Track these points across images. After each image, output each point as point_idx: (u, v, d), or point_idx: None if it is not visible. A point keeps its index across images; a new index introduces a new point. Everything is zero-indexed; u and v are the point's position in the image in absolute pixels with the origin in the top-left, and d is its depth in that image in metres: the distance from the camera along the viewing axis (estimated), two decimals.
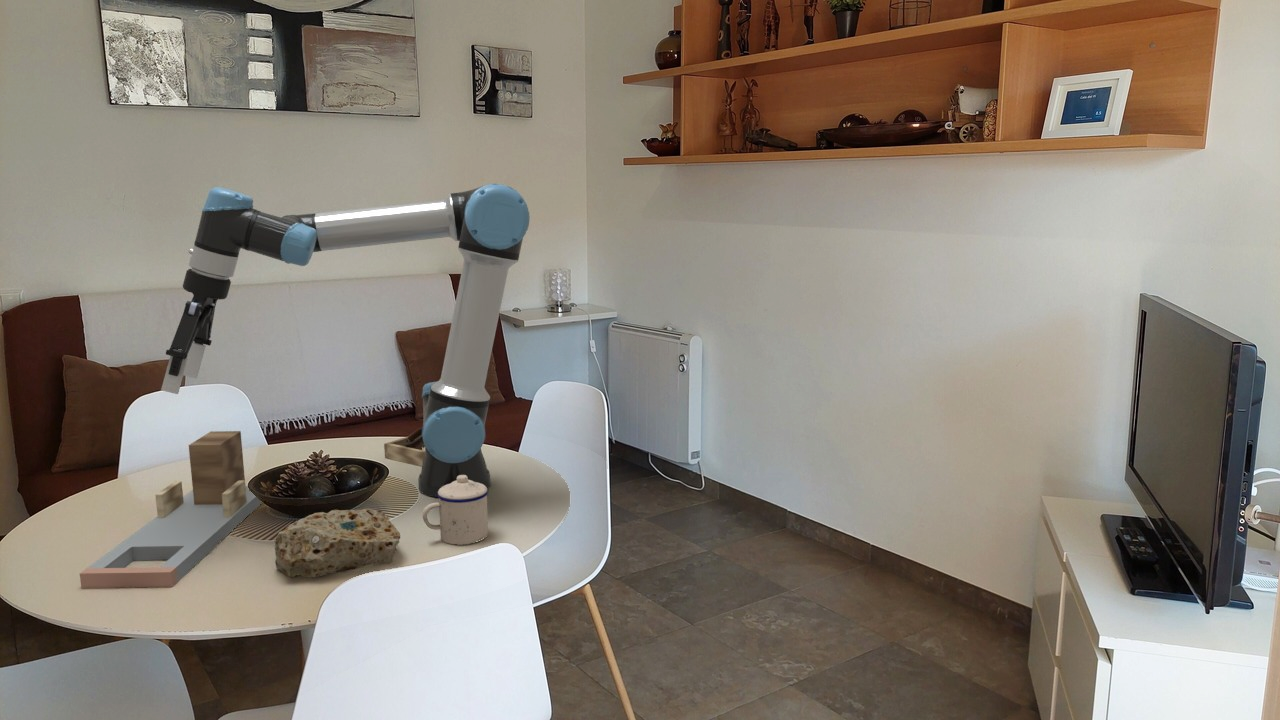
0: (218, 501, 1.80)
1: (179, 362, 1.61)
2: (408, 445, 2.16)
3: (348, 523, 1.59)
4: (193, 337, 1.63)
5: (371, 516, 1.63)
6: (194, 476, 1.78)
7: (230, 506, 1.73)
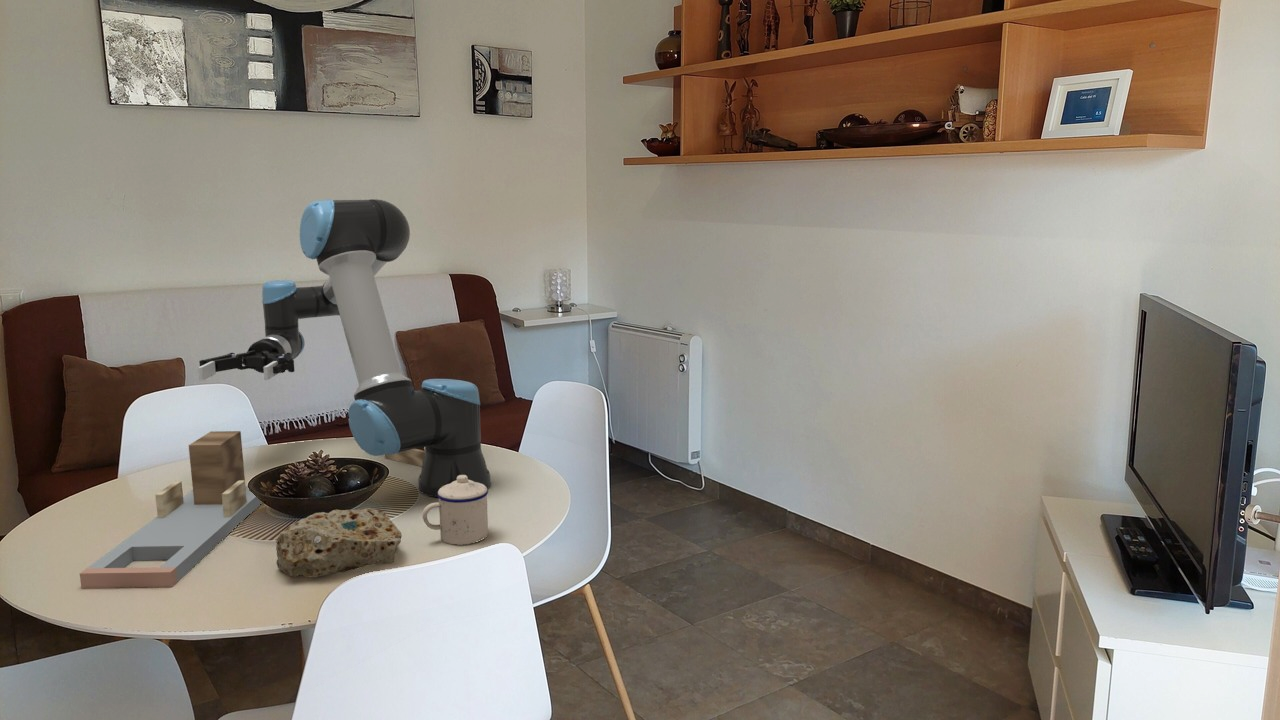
0: (218, 501, 1.80)
1: None
2: None
3: (350, 523, 1.59)
4: (224, 358, 2.01)
5: (372, 516, 1.63)
6: (194, 476, 1.78)
7: (230, 506, 1.73)
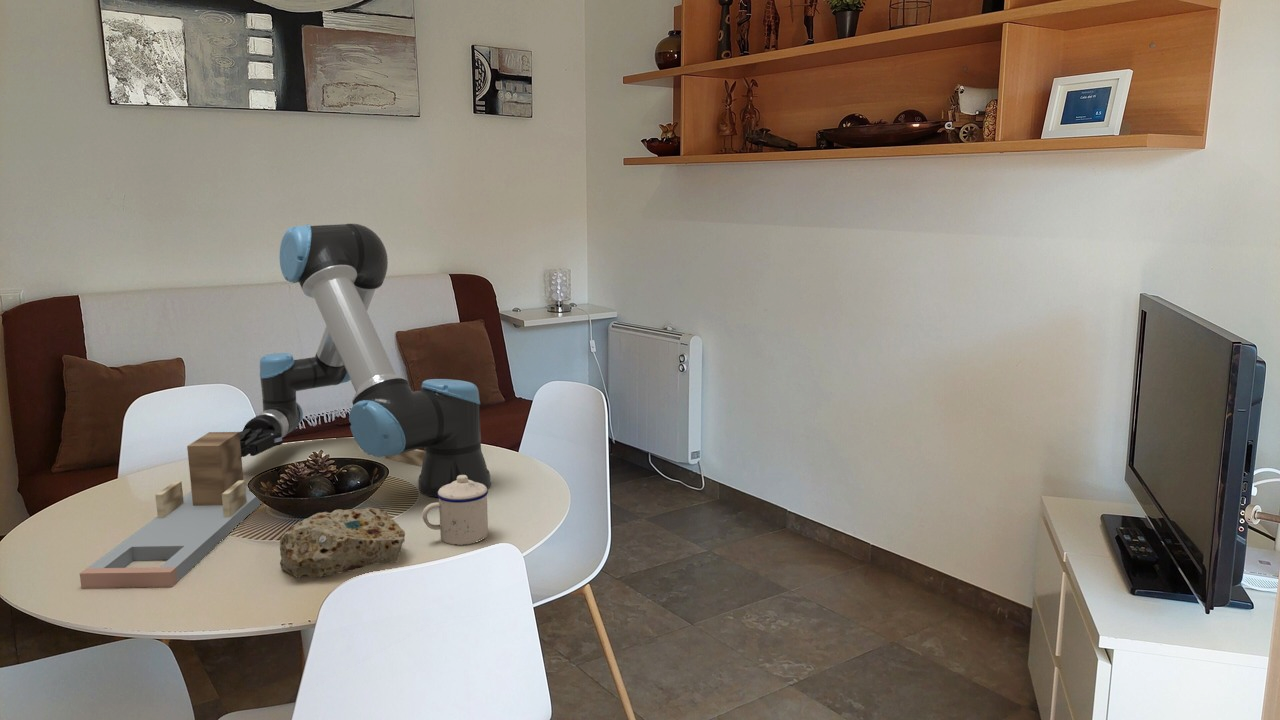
0: (217, 502, 1.79)
1: None
2: None
3: (353, 522, 1.60)
4: None
5: (374, 515, 1.63)
6: (193, 477, 1.78)
7: (230, 506, 1.73)
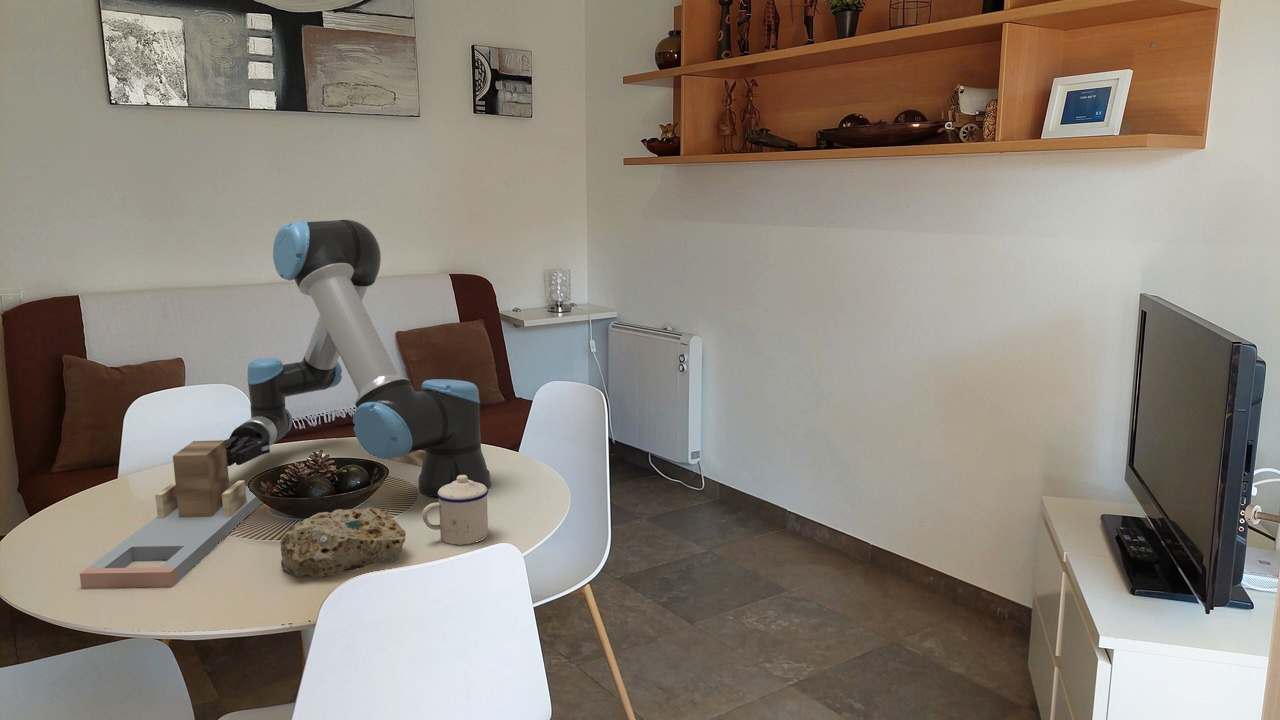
0: (205, 514, 1.73)
1: None
2: None
3: (353, 522, 1.60)
4: None
5: (375, 515, 1.63)
6: (179, 488, 1.72)
7: (230, 506, 1.73)
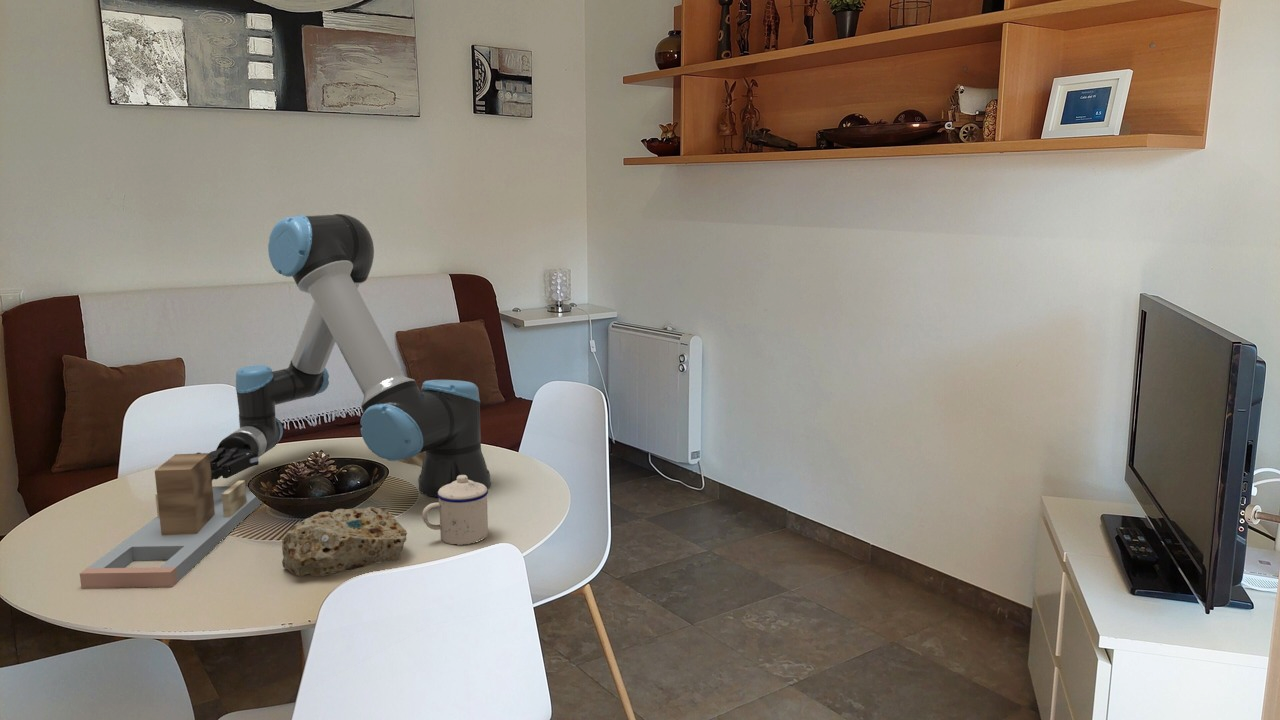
0: (189, 531, 1.64)
1: None
2: None
3: (354, 521, 1.60)
4: None
5: (376, 514, 1.64)
6: (161, 504, 1.63)
7: (230, 506, 1.73)
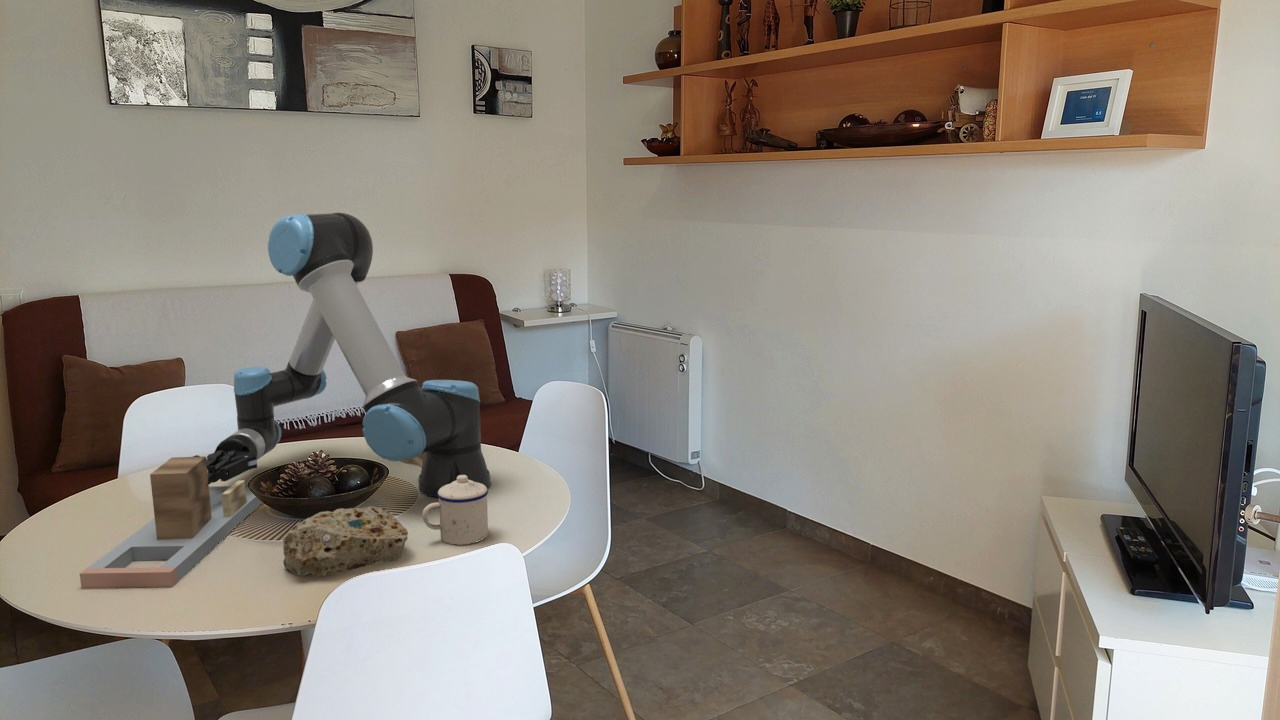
0: (185, 535, 1.62)
1: None
2: None
3: (355, 521, 1.60)
4: None
5: (376, 514, 1.64)
6: (157, 508, 1.61)
7: (230, 506, 1.73)
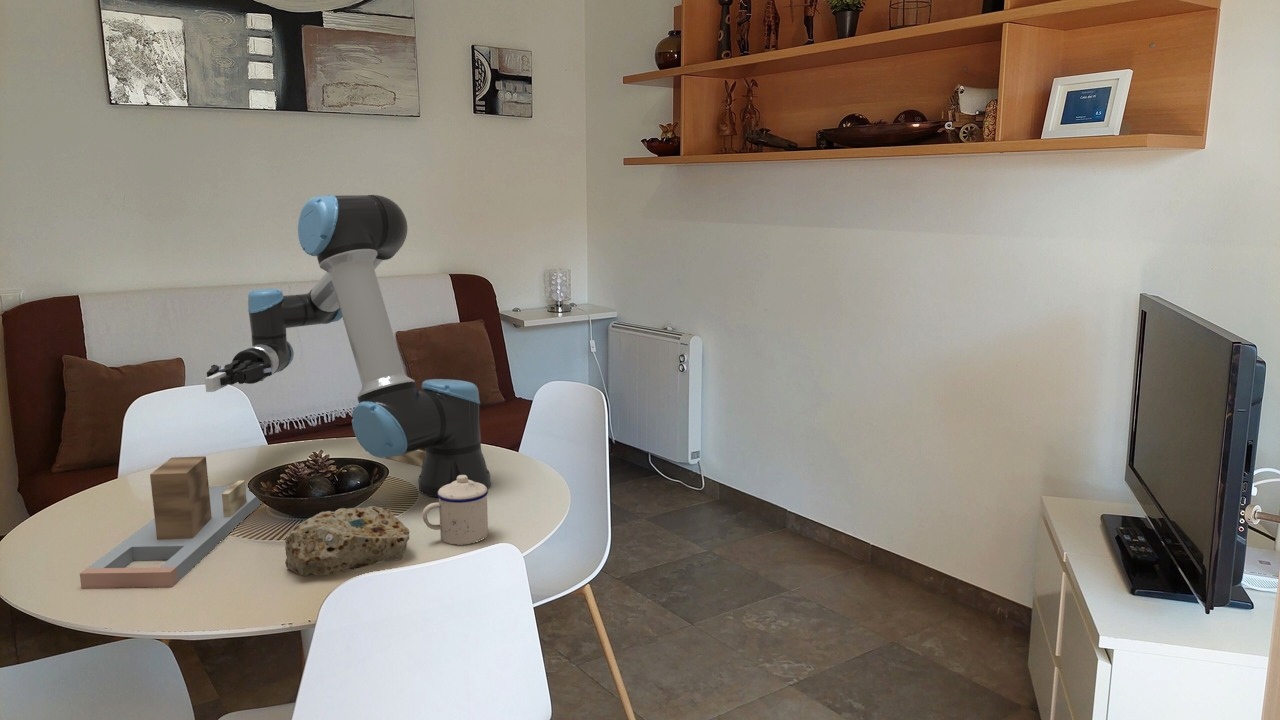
0: (185, 535, 1.62)
1: None
2: None
3: (357, 520, 1.60)
4: (222, 369, 1.92)
5: (378, 513, 1.64)
6: (157, 508, 1.61)
7: (230, 506, 1.73)
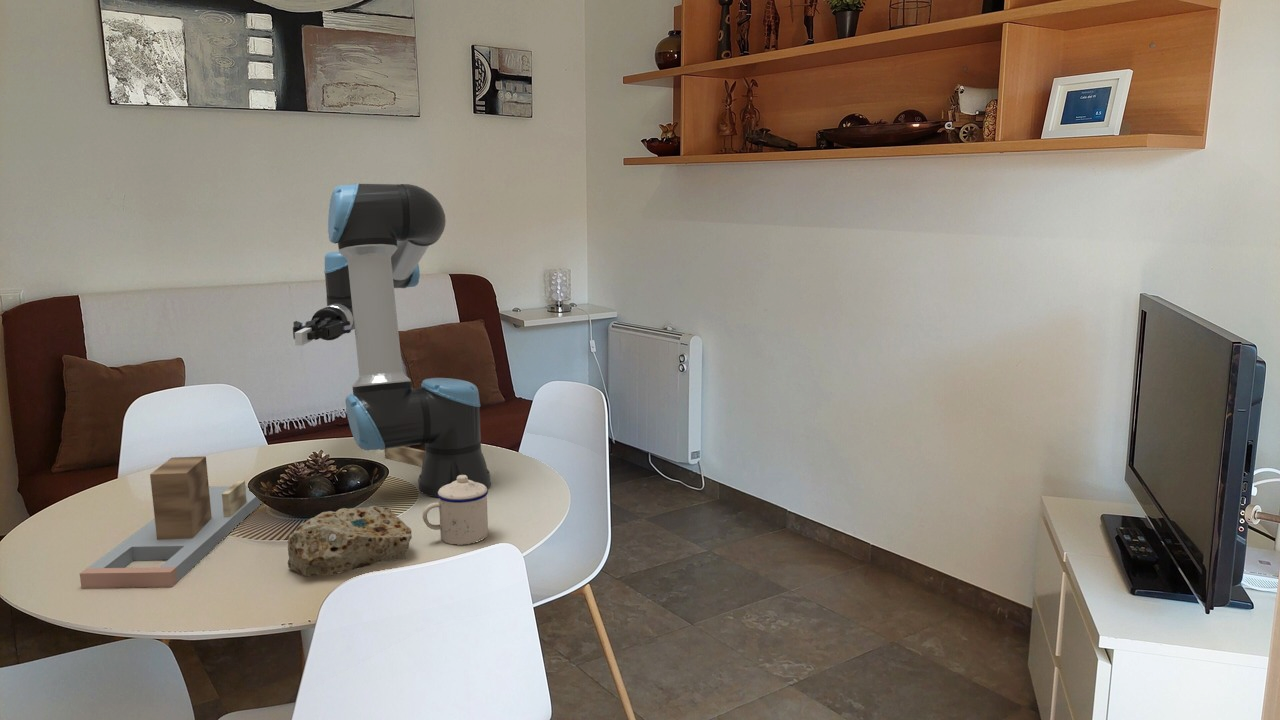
0: (185, 535, 1.62)
1: None
2: (412, 445, 2.15)
3: (359, 520, 1.61)
4: (306, 325, 2.03)
5: (379, 513, 1.64)
6: (157, 508, 1.61)
7: (230, 506, 1.73)
